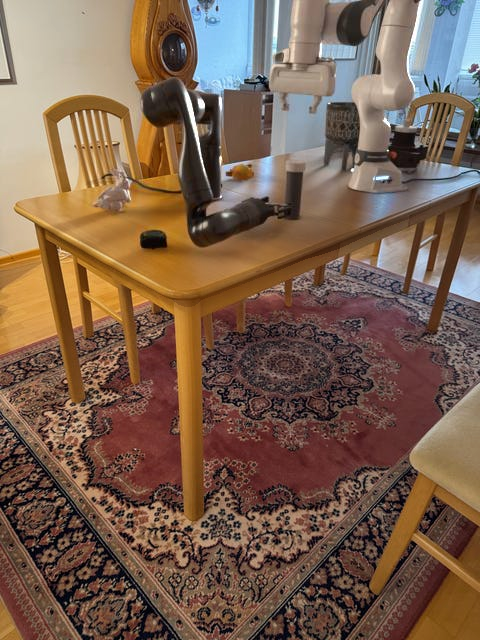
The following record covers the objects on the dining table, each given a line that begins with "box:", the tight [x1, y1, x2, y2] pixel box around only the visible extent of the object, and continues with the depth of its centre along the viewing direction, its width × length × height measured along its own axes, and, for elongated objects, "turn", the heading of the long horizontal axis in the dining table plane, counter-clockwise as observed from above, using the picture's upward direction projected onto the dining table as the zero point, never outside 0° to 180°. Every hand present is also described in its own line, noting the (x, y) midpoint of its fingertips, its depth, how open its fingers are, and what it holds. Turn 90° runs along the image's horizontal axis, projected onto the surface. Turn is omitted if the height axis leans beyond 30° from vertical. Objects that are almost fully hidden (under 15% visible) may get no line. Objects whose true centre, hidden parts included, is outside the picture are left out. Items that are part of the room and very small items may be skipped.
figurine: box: [92, 167, 133, 213], centre depth 142 cm, size 8×15×13 cm, turn 145°
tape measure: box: [139, 229, 168, 250], centre depth 117 cm, size 7×7×4 cm
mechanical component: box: [388, 119, 430, 174], centre depth 205 cm, size 22×21×30 cm
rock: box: [333, 147, 351, 154], centre depth 243 cm, size 13×9×6 cm, turn 131°
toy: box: [225, 163, 256, 182], centre depth 185 cm, size 11×6×15 cm
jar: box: [284, 170, 304, 221], centre depth 139 cm, size 5×5×16 cm
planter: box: [323, 101, 360, 172], centre depth 204 cm, size 20×20×26 cm
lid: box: [284, 159, 307, 173], centre depth 135 cm, size 6×6×2 cm
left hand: (279, 202), depth 135 cm, fingers open, 8 cm apart
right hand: (298, 112), depth 130 cm, fingers open, 8 cm apart
